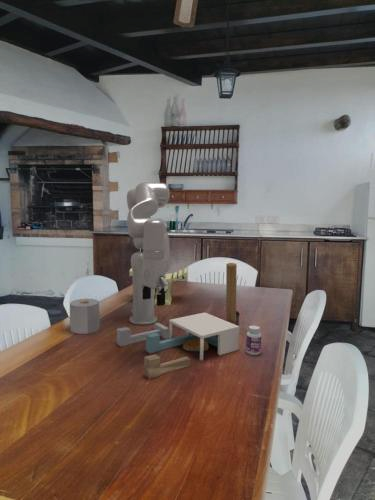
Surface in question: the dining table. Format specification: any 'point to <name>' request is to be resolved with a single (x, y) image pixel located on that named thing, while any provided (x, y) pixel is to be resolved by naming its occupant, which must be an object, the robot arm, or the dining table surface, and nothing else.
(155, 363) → the brown angular wooden piece
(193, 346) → the pastry
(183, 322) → the desk
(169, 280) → the slatted curved stool
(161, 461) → the dining table surface
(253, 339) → the pill bottle
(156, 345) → the blue-grey long flat part
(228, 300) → the hammer
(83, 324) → the toilet paper roll
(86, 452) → the dining table surface
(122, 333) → the tee stick
